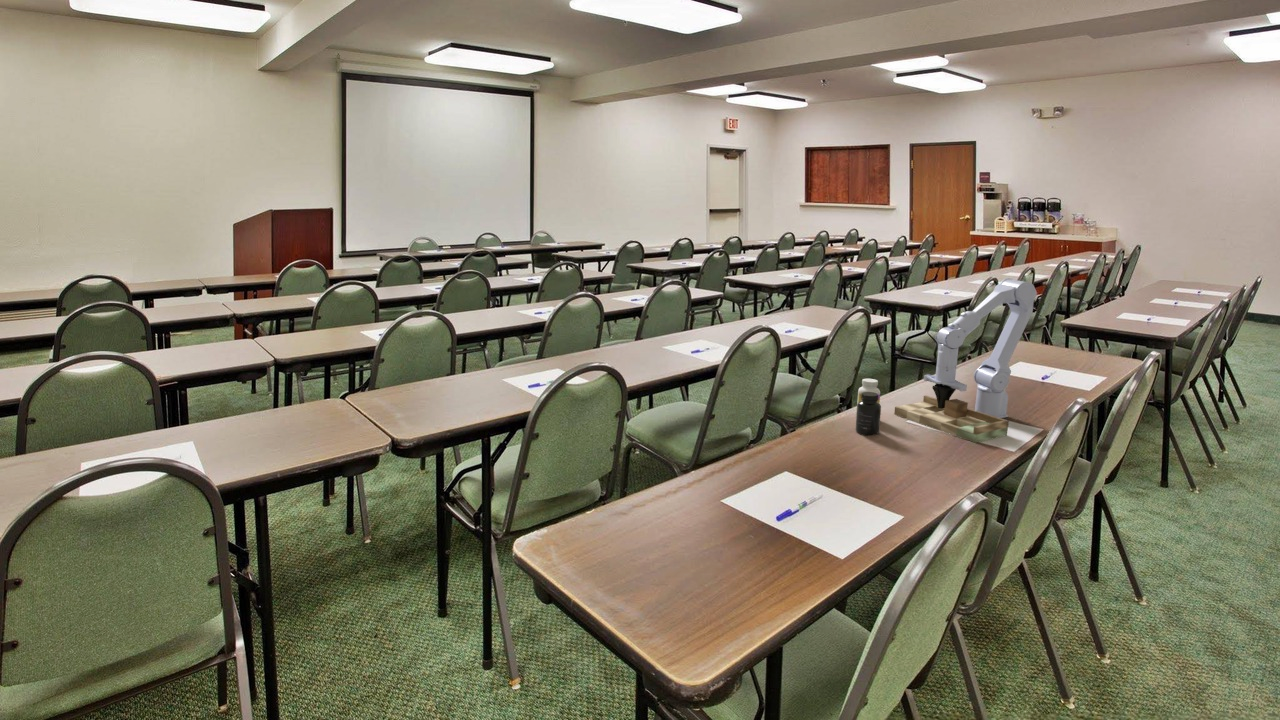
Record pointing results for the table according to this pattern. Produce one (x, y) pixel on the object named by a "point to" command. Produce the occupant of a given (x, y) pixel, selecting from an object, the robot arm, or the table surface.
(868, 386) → the supplement bottle
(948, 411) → the walnut block
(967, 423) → the trap board
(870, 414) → the supplement bottle
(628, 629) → the table surface
